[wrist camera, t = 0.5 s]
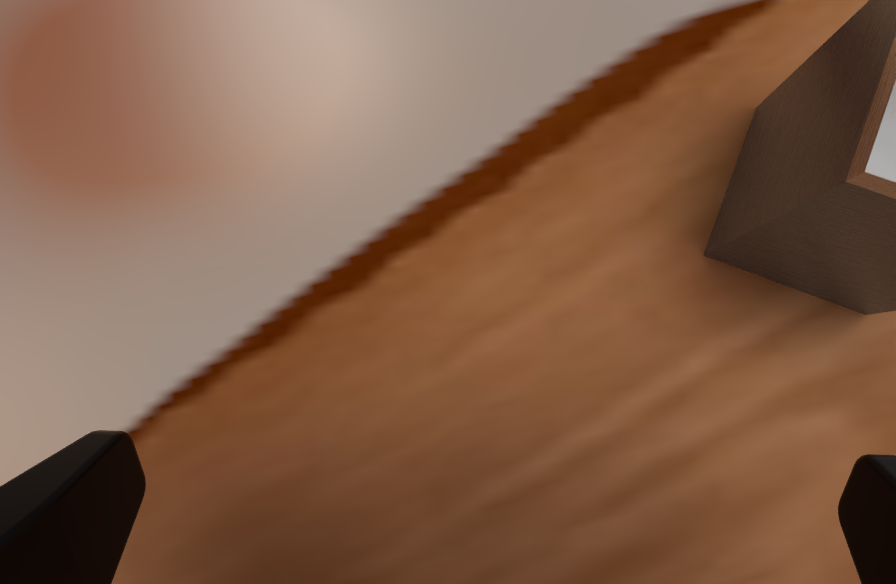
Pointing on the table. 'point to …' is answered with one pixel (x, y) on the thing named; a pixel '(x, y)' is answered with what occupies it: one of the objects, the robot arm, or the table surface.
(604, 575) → the table surface
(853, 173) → the tin
